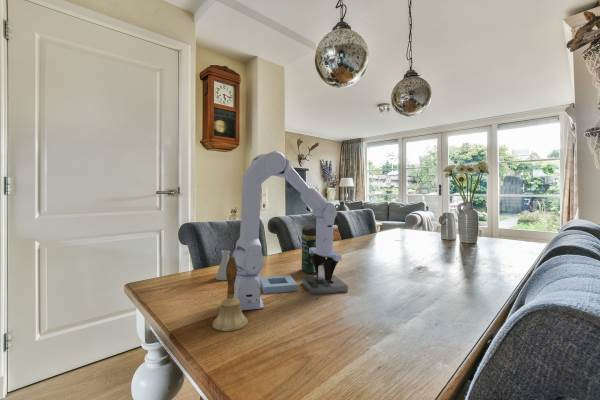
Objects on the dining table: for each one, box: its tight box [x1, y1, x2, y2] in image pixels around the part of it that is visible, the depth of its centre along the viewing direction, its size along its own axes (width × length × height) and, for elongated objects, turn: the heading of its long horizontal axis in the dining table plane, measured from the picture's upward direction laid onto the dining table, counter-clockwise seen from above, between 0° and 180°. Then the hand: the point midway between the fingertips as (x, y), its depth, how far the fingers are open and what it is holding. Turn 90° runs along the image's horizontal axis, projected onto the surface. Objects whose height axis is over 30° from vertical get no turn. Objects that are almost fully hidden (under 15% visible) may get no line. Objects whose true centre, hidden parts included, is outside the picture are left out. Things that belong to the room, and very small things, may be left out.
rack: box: [260, 274, 299, 294], centre depth 96 cm, size 11×11×2 cm
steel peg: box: [318, 264, 330, 284], centre depth 96 cm, size 4×4×8 cm
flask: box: [215, 250, 231, 281], centre depth 105 cm, size 7×7×10 cm
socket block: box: [301, 274, 349, 296], centre depth 96 cm, size 12×12×2 cm
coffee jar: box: [301, 224, 316, 275], centre depth 116 cm, size 10×8×19 cm
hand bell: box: [211, 256, 249, 332], centre depth 69 cm, size 8×8×16 cm
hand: (324, 278), depth 96 cm, fingers closed on steel peg, 4 cm apart
